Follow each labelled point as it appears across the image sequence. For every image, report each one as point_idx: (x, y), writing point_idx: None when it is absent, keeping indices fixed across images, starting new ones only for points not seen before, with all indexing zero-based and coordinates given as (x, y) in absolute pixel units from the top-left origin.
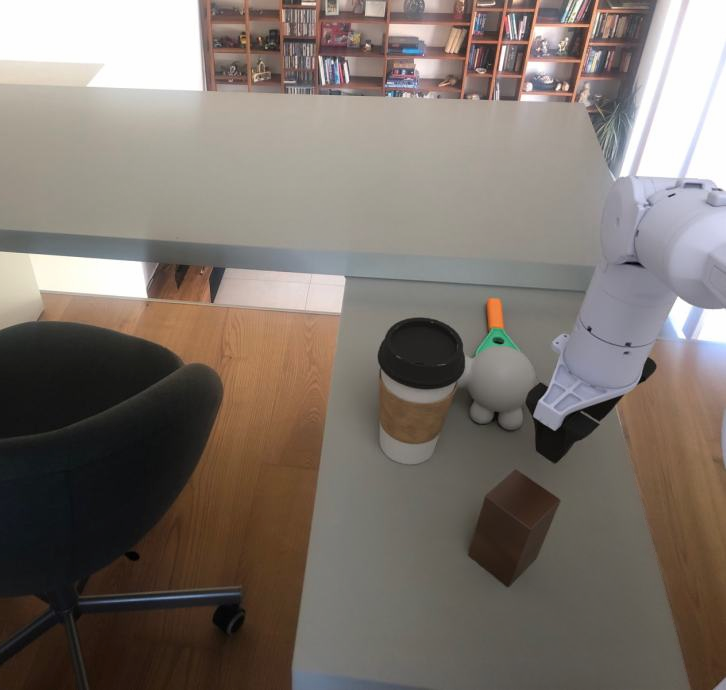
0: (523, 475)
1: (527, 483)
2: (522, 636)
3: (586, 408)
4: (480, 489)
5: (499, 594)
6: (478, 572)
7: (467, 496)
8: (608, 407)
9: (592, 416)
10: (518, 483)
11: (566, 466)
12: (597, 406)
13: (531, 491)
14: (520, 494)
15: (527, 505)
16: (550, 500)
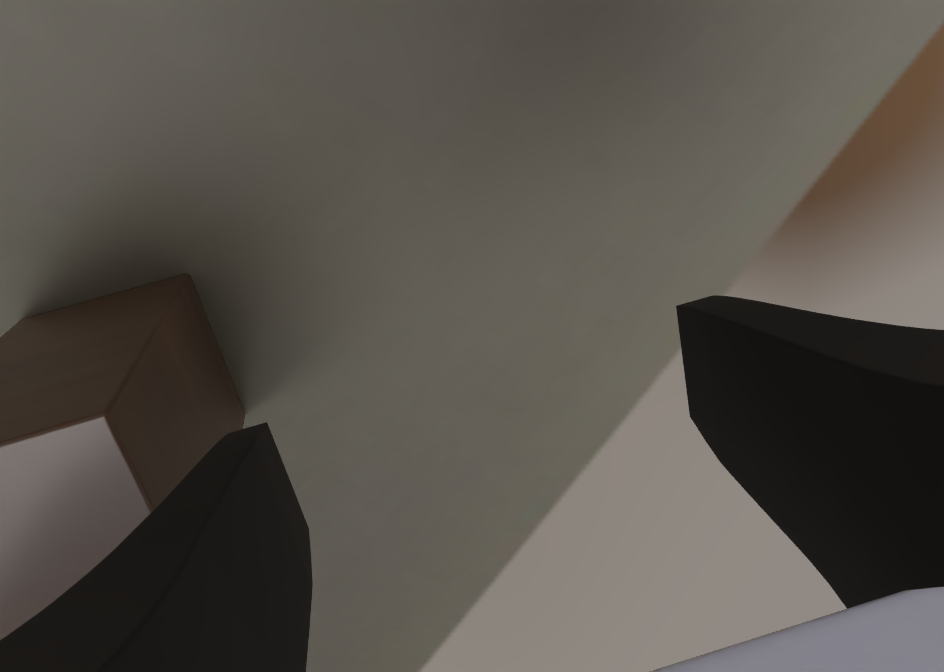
0: (117, 464)
1: (108, 507)
2: None
3: (697, 349)
4: (240, 103)
5: None
6: None
7: (169, 107)
8: (761, 491)
9: (689, 380)
10: (58, 493)
11: (603, 169)
12: (732, 424)
13: (94, 553)
14: (24, 550)
15: (18, 611)
16: None
